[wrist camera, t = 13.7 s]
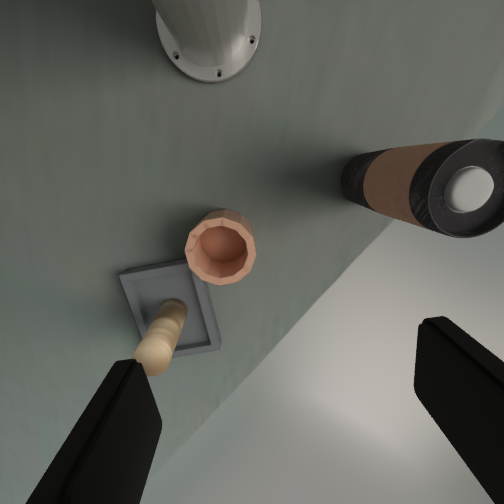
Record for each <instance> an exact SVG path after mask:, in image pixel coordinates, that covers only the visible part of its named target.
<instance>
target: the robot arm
mask: <svg viewBox="0 0 504 504" xmlns="http://www.w3.org/2000/svg"><path fill="white" fill-rule="evenodd" d="M151 1H152V3H153V5H154V7H155V8H156V25H157V31H158V35H159V38H160V41H161V44H162V46H163V48H164V49H165V51H166V53H167V55H168V56H169V58H170V59H171V61H172V62H173V63H174V64H175V65H176V67H177V68H178V69H179V70H181V71H182V72H183V73H184V74H186V75H187V76H189V77H191V78H193V79H195V80H197V81H201V82H204V83H219V82H224V81H227V80H229V79H232V78H233V77H235V76H236V75H238V74H239V73H241V72H242V71H243V70H244V69H245V68H246V67H247V65H248V64H249V62H250V61H251V59H252V58H253V56H254V53H255V51H256V49H257V46H258V42H259V38H260V31H261V12H260V5H259V1H258V0H151ZM250 41H253V42H254V43H253V44H251V43H250ZM177 56H179V59H177V60H176V57H177ZM219 73H220V74H221V77H218V76H217V75H218V74H219ZM414 390H415V393H416V395H417V397H418V399H419V400H420V401H421V403H422V404H423V406H424V407H425V408H426V410H427V411H428V412H429V414H430V415H431V417H432V418H433V419H434V421H435V422H436V423H437V425H438V426H439V427H440V429H441V430H442V432H443V433H444V434H445V436H446V437H447V438H448V440H449V441H450V443H451V444H452V445H453V447H454V448H455V450H456V451H457V452H458V454H459V455H460V456H461V458H462V459H463V461H464V462H465V463H466V464H467V466H468V467H469V469H470V470H471V472H472V473H473V474H474V476H475V477H476V478H477V480H478V481H479V483H480V484H481V485H482V487H483V488H484V489H485V491H486V492H487V494H488V495H489V496H490V498H491V499H492V501H493V502H494V503H495V504H504V362H503V361H502V360H500V359H499V358H498V357H497V356H495V355H494V354H493V353H492V352H490V351H489V350H487V349H486V348H485V347H484V346H482V345H481V344H480V343H479V342H477V341H476V340H475V339H474V338H472V337H471V336H470V335H469V334H467V333H466V332H465V331H463V330H462V329H461V328H460V327H458V326H457V325H456V324H454V323H453V322H452V321H451V320H449V319H448V318H447V317H444V316H440V317H433V318H426V319H424V320H423V322H422V324H420V325H419V326H418V337H417V349H416V362H415V376H414ZM161 430H162V419H161V416H160V413H159V411H158V408H157V405H156V402H155V399H154V396H153V393H152V391H151V388H150V385H149V382H148V379H147V376H146V374H145V371H144V368H143V365H142V363H140V362H139V363H138V362H137V360H136V359H128V360H120V361H116V362H115V363H114V364H113V366H112V368H111V369H110V371H109V372H108V374H107V375H106V377H105V379H104V380H103V382H102V383H101V385H100V387H99V388H98V390H97V391H96V393H95V394H94V396H93V398H92V399H91V401H90V402H89V404H88V405H87V407H86V409H85V410H84V412H83V413H82V415H81V417H80V418H79V420H78V421H77V423H76V424H75V426H74V428H73V429H72V431H71V432H70V434H69V436H68V437H67V439H66V440H65V442H64V443H63V445H62V447H61V448H60V450H59V451H58V453H57V455H56V456H55V458H54V459H53V461H52V462H51V464H50V466H49V467H48V469H47V470H46V472H45V473H44V475H43V477H42V478H41V480H40V481H39V483H38V485H37V486H36V488H35V489H34V491H33V492H32V494H31V496H30V497H29V499H28V500H27V502H26V504H139V503H140V500H141V497H142V493H143V490H144V487H145V484H146V480H147V477H148V474H149V470H150V467H151V464H152V460H153V457H154V454H155V450H156V447H157V444H158V441H159V437H160V434H161Z"/></svg>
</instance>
